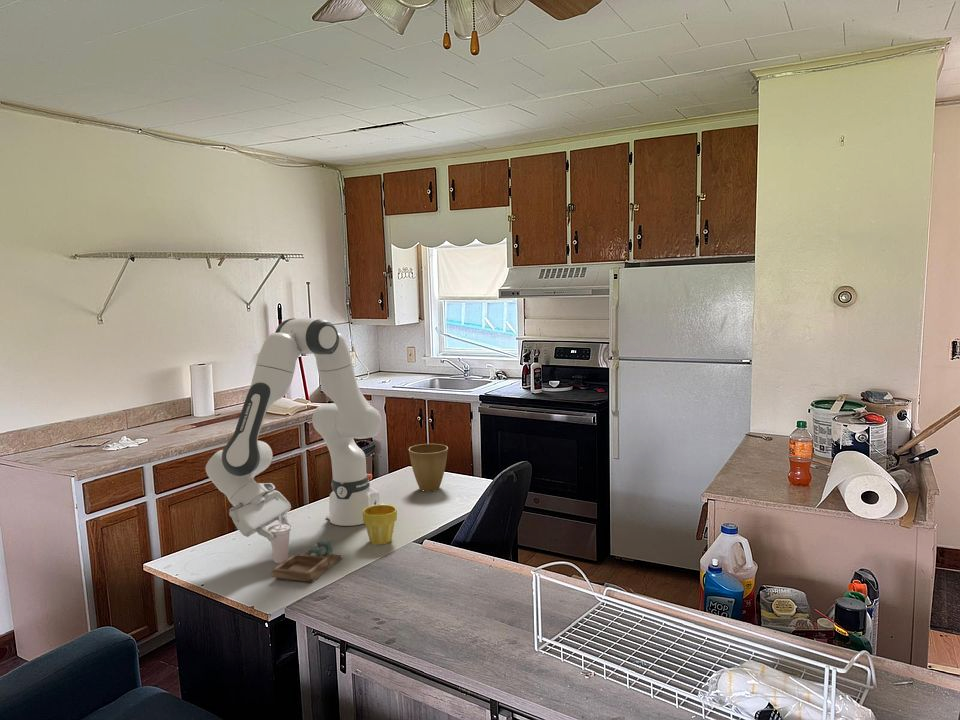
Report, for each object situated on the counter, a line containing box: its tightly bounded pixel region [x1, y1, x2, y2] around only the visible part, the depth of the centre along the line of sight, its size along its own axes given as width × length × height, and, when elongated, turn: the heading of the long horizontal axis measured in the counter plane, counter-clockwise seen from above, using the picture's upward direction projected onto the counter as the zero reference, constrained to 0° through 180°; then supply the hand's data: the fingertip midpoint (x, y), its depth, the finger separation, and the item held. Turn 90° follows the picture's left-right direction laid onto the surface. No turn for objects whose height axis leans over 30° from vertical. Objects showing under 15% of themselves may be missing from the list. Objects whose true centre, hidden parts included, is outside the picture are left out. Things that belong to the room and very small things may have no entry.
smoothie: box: [267, 513, 292, 564], centre depth 192 cm, size 6×6×14 cm
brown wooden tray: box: [271, 540, 342, 583], centre depth 187 cm, size 20×11×4 cm, turn 164°
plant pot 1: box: [363, 504, 398, 545], centre depth 205 cm, size 10×10×10 cm
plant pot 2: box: [408, 443, 449, 492], centre depth 256 cm, size 15×15×16 cm
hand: (281, 534), depth 192 cm, fingers closed on smoothie, 6 cm apart
